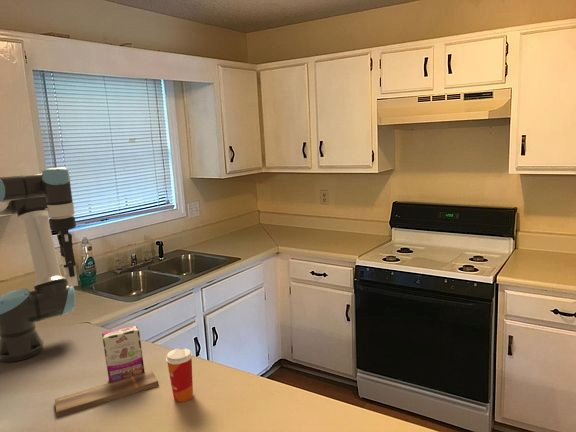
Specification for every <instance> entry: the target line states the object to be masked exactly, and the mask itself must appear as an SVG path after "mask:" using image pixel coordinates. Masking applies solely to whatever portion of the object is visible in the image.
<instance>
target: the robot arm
mask: <svg viewBox="0 0 576 432" xmlns="http://www.w3.org/2000/svg"><path fill="white" fill-rule="evenodd" d="M72 194H73V193H72V187H71V177H70V174H69V170H68V168H67V167H60V166H59V167H50V168H49V167H48V168H43V170H42V171H41V173H31V174H22V175H11V176H2V177H0V216H8V215H9V216H10V215H17V219H19V221H21V222H23V224H24V229H25V234H26V236H27V237H26V238H27V243H28V247H29V250H30V255H31V256H30V257H31V261H32V264H33V269H34V274H35V278H36V282H35V284H34V285H33V289H34V290H32V291H30V289H29V288H25V287H24V288H18V289H13V290H10V291H8V292H5V293H3V294H1V295H0V362H3V363H15V362H20V361H23V360H28V359H29V358H32V357H35V356H36V355H39V354H40V353H41V352H42V351H43V350H44V349H45V345H44V341H43V339H42V338H41V337H42V336H40V333H39V332H38V331H37V329H36V323H38V322H41V321H46V320H49V319H52V318H53V319H54V318H57V317H62V316H64V315H66V314H70V313H72V312H73V311H74V309H75V306H76V291H75V287H78V286H79V282H78V276H77V267H76V265H77V264H76V263H77V262H76V260H75V254H74V249H73V236H72V235H73V234H71V232H70V231H69V230H73V229H75V228H76V227H77V223H76V217H75V216H74V215H75V207H74V202H73V195H72ZM52 231H53V232H57V235H56V236H57V240H58V244H59V253H60V256H61V263H62V269H63V270H62V271H63V275H62V273H61V269H60V268H61V267H60V263H59V260H58V255H57V251H56V248H55V243H54V238H53V233H52Z"/></svg>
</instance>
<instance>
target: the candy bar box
mask: <svg viewBox="0 0 576 432" xmlns="http://www.w3.org/2000/svg"><path fill="white" fill-rule="evenodd" d="M101 336H102V337H101V338H102V343H103V350H104V358H105V363H106V370H107V376H108V383H111V382H114V381H117V380H121V379H124V378H128V377H131V376H134V375H138V374H141V373H145V372H146V371H145V365H144V357H143V352H142V351H143V349H142V342H141V335H140V329H139V327H138V325H137V324H136V325H132V326H128V327H127V326H125V327H122V328H119V329H118V328H117V329H115V330H110V331H106V332H102V333H101Z"/></svg>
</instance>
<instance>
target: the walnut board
mask: <svg viewBox="0 0 576 432" xmlns="http://www.w3.org/2000/svg"><path fill="white" fill-rule="evenodd" d="M157 386H160V385H159V380H158V378H157V377H156V374H155V373H154V372H153V370H149V371H145V373H141V374H138V375H134V376H131V377H128V378H124V379H121V380H117V381H114V382H111V383H109V382H108V383H107V382H106V383H105V384H101V385H97V386H95V387H90V388H86V389H83V390H81V391H76V392H73V393H70V394H67V395H63V396H60V397H56V398H54V405H55V410H56V411H55V413H56V417H57V418H58V417H62V416H64V415H67V414H71V413H74V412H77V411H80V410H85V409H87V408H91V407H93V406H96V405H100V404H104V403H106V402H109V401H113V400H116V399H119V398H122V397H125V396H129V395H132V394H135V393H138V392H141V391H145V390H147V389H151V388H155V387H157Z"/></svg>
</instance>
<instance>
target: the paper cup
mask: <svg viewBox="0 0 576 432" xmlns="http://www.w3.org/2000/svg"><path fill="white" fill-rule="evenodd" d="M192 359H193V353H192V352H191V350H190V349H189V348H186V347H185V348H175V349H173V350H170V351H168V353H167V355H166V357H165V361H166V363H167V368H168V373H169V379H170V386H171V390H172V394H173V399H174V401H175V402H176V403H177V402H178V403H183V402H185V403H186V402H187V401H189V400H191V399H192V398H193V395H194V393H193V392H194V391H193V390H194V389H193V388H194V387H193V386H194V385H193V382H194V381H193V362H192Z"/></svg>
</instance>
